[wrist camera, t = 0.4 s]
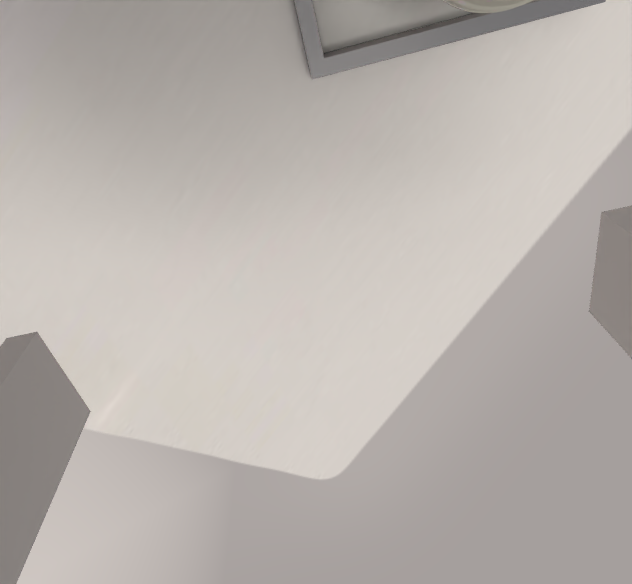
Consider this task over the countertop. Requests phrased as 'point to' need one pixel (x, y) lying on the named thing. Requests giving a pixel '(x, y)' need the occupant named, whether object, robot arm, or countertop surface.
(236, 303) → the countertop surface
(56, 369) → the robot arm
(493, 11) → the coffee cup
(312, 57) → the divided tray
